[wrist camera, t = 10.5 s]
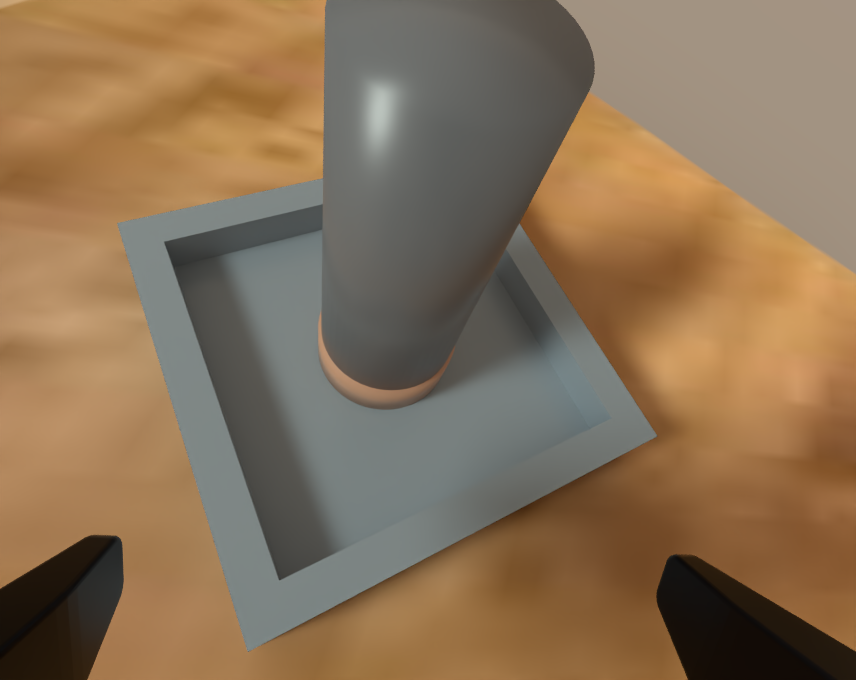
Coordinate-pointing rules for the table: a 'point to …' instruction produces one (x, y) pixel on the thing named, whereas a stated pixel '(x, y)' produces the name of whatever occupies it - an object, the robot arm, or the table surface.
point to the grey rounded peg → (430, 172)
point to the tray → (356, 407)
